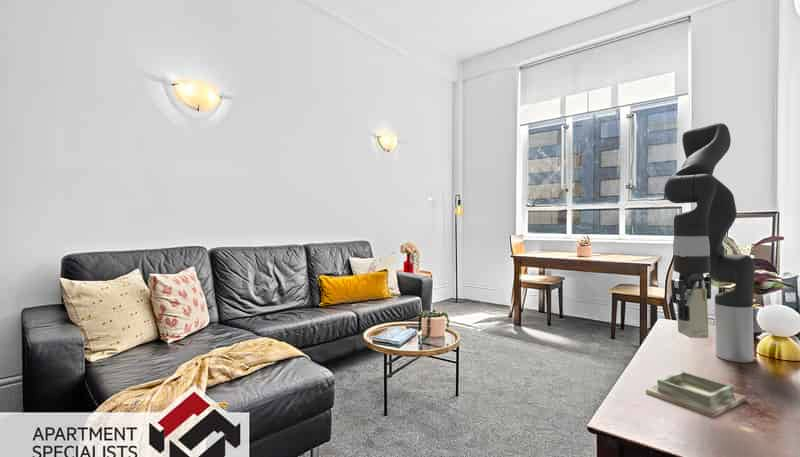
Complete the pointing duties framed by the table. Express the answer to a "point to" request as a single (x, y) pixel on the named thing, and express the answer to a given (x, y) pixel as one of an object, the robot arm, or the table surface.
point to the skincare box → (696, 316)
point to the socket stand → (697, 393)
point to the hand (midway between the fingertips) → (692, 318)
